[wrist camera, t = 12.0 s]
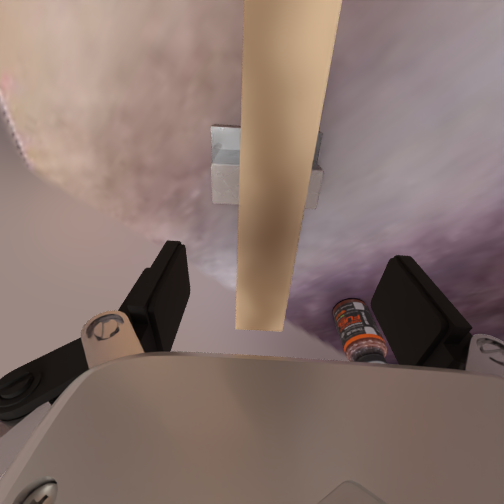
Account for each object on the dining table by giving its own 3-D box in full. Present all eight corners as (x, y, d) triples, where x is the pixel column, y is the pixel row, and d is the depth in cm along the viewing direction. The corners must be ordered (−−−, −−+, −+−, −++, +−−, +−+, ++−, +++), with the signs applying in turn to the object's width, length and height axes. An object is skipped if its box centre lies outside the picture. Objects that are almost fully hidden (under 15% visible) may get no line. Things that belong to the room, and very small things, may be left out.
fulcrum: (318, 130, 28) (341, 145, 21) (306, 197, 33) (321, 229, 25) (213, 124, 28) (197, 136, 21) (215, 192, 33) (203, 223, 25)
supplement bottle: (349, 291, 42) (376, 351, 32) (373, 306, 43) (406, 366, 34) (324, 312, 44) (342, 372, 35) (348, 325, 46) (372, 386, 37)
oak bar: (317, 9, 16) (347, -32, 11) (277, 286, 29) (282, 331, 24) (249, 4, 16) (245, -40, 11) (239, 284, 29) (235, 329, 24)
